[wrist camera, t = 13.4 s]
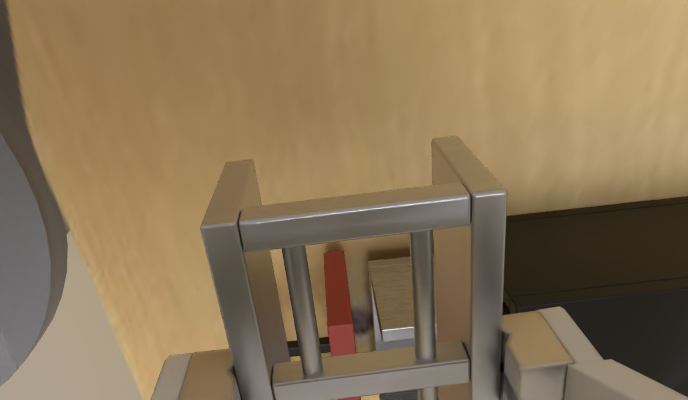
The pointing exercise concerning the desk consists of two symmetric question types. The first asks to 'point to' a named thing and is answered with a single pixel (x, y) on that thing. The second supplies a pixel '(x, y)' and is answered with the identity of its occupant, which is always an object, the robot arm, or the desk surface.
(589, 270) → the black drawer cabinet
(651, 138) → the desk surface
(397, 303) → the drawer
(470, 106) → the desk surface
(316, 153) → the desk surface
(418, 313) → the rack
